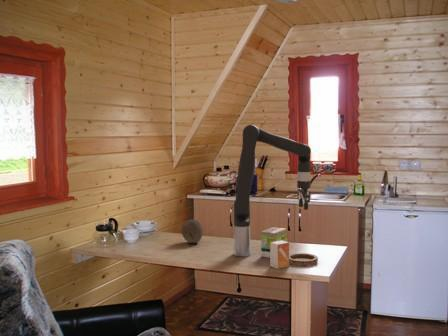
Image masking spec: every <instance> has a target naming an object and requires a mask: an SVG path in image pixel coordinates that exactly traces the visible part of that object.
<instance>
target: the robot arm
mask: <svg viewBox="0 0 448 336" xmlns="http://www.w3.org/2000/svg"><path fill="white" fill-rule="evenodd" d="M258 142H260V143H263V144H267V145H269V146H270V147H271V146H272V147H274V148H276V149H279V150H281V151H284V152H288V153H292V154H294V155H297V160H298V163H297V174H296V175H297V177H296V188H297V197H296V198H297V199H298V207H299V208H303V210H304V211H308V210H309V203H310V202H311V192H310V191H308V189H311V187H312V186H311V181H312V179H311V153H312V149H311V147H310V145H308V144H307V143H306V144H305V143H301V142H299V141H295V140H293V139H290V138H288V137H285V136H281V135H277V134H273V133H270V132H268V131H265V130H263V129H261V128H259V127H258V126H256V125H255V124H254V125H253V124H248V125H246V126H244V128H243V130H242V147H241V153H240V157H239V160H238V161H239V163H238V169H237V182H236V183H237V184H236V185H237V187H236V188H237V191H236V194H235V195H236V196H235V200H234V202H233V255H234V256H235V257H240V258H241V257H249V256H251V210H250V209H251V204H250V201H251V200H250V199H251V198H250V197H251V188H252V185H253V181H254V177H255V176H254V175H255V168H256V146H257V143H258Z"/></svg>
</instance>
